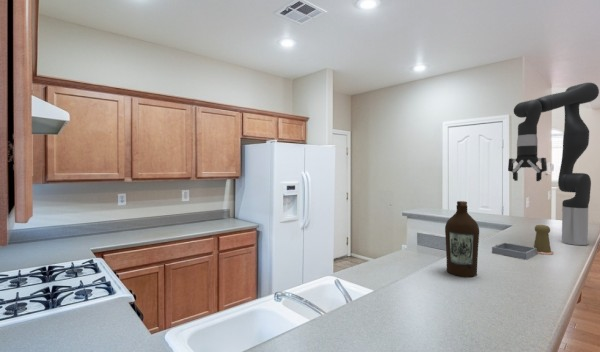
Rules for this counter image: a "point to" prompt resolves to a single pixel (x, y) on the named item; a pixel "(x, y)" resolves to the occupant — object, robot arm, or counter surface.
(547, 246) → the cork
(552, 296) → the counter surface
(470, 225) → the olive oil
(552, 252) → the salmon pink disc
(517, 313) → the counter surface
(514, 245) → the bin frame
